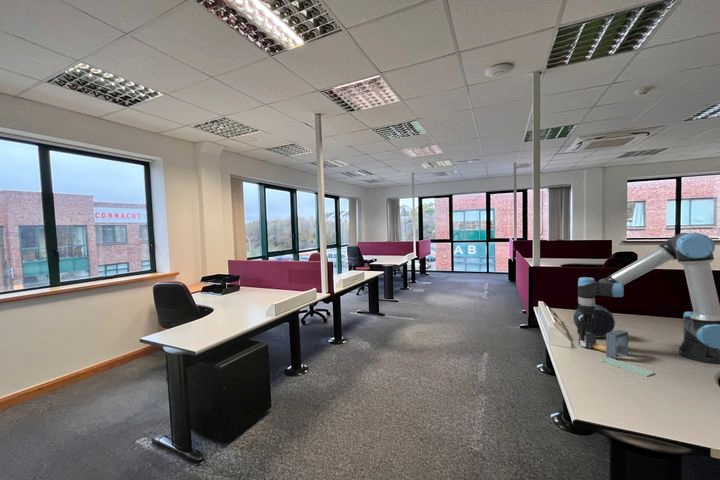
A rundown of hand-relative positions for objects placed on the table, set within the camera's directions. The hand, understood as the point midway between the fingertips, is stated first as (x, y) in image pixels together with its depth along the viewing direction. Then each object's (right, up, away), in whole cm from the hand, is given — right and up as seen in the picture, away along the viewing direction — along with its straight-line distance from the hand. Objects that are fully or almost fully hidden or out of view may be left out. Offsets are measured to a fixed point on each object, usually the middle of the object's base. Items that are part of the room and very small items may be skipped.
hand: (586, 345), depth 165 cm
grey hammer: (+2, 0, -5) cm, 6 cm away
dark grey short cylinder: (+17, 0, +16) cm, 24 cm away
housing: (+6, -1, -13) cm, 15 cm away
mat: (0, -1, -25) cm, 25 cm away
